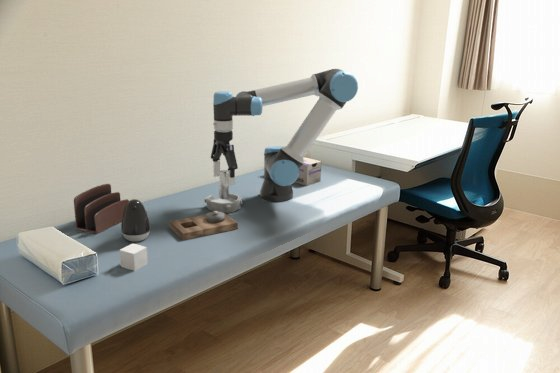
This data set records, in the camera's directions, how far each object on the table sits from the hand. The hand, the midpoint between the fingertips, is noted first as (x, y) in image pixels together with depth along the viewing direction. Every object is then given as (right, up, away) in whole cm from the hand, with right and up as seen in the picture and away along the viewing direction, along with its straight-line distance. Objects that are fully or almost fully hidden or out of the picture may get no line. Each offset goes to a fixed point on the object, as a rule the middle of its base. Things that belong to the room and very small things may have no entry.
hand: (224, 180), depth 218 cm
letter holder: (-45, -17, -15) cm, 50 cm away
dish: (0, -12, +4) cm, 13 cm away
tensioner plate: (-6, -19, -19) cm, 27 cm away
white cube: (-24, -28, -49) cm, 61 cm away
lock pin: (0, -7, +2) cm, 8 cm away
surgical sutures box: (+31, +1, +48) cm, 57 cm away
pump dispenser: (-29, -22, -29) cm, 46 cm away
